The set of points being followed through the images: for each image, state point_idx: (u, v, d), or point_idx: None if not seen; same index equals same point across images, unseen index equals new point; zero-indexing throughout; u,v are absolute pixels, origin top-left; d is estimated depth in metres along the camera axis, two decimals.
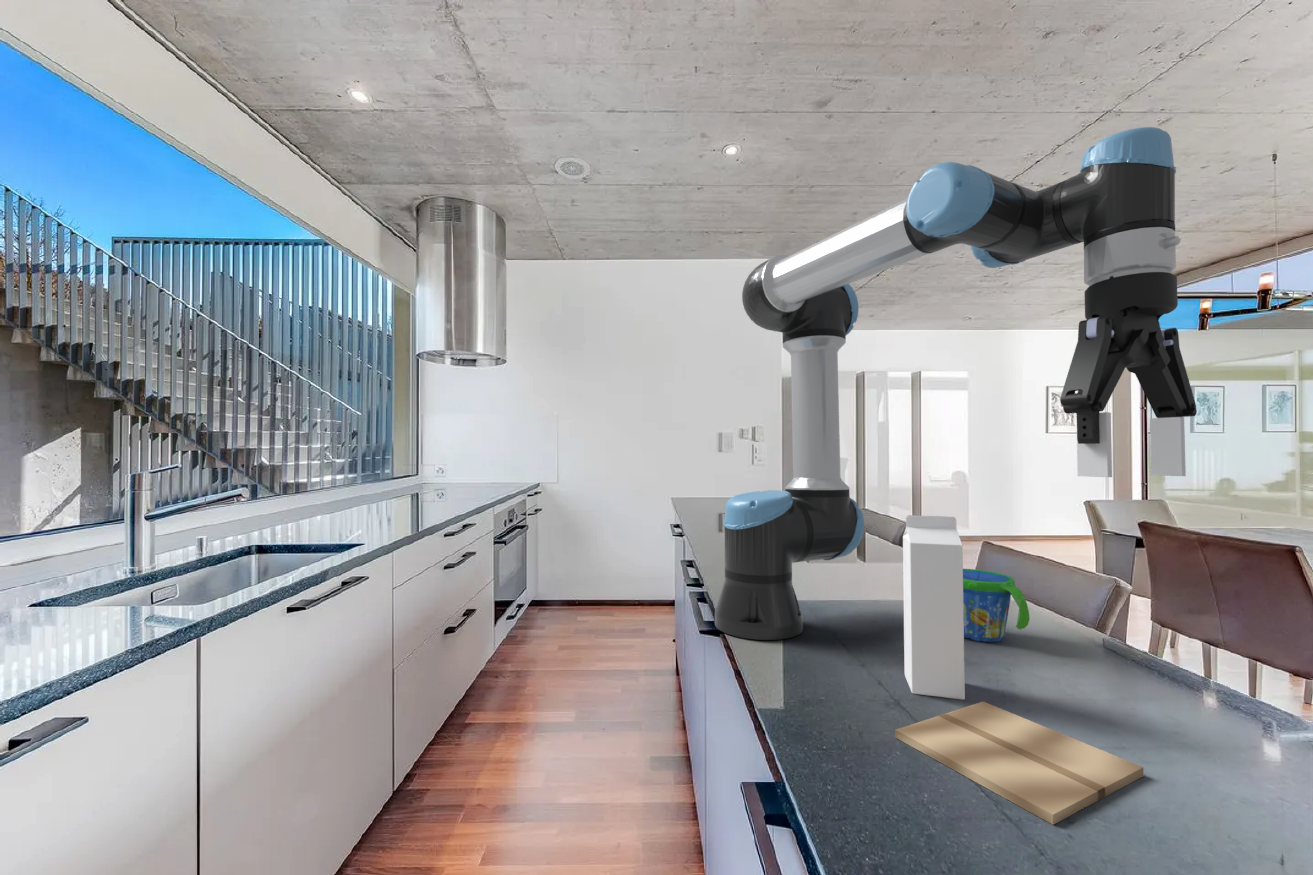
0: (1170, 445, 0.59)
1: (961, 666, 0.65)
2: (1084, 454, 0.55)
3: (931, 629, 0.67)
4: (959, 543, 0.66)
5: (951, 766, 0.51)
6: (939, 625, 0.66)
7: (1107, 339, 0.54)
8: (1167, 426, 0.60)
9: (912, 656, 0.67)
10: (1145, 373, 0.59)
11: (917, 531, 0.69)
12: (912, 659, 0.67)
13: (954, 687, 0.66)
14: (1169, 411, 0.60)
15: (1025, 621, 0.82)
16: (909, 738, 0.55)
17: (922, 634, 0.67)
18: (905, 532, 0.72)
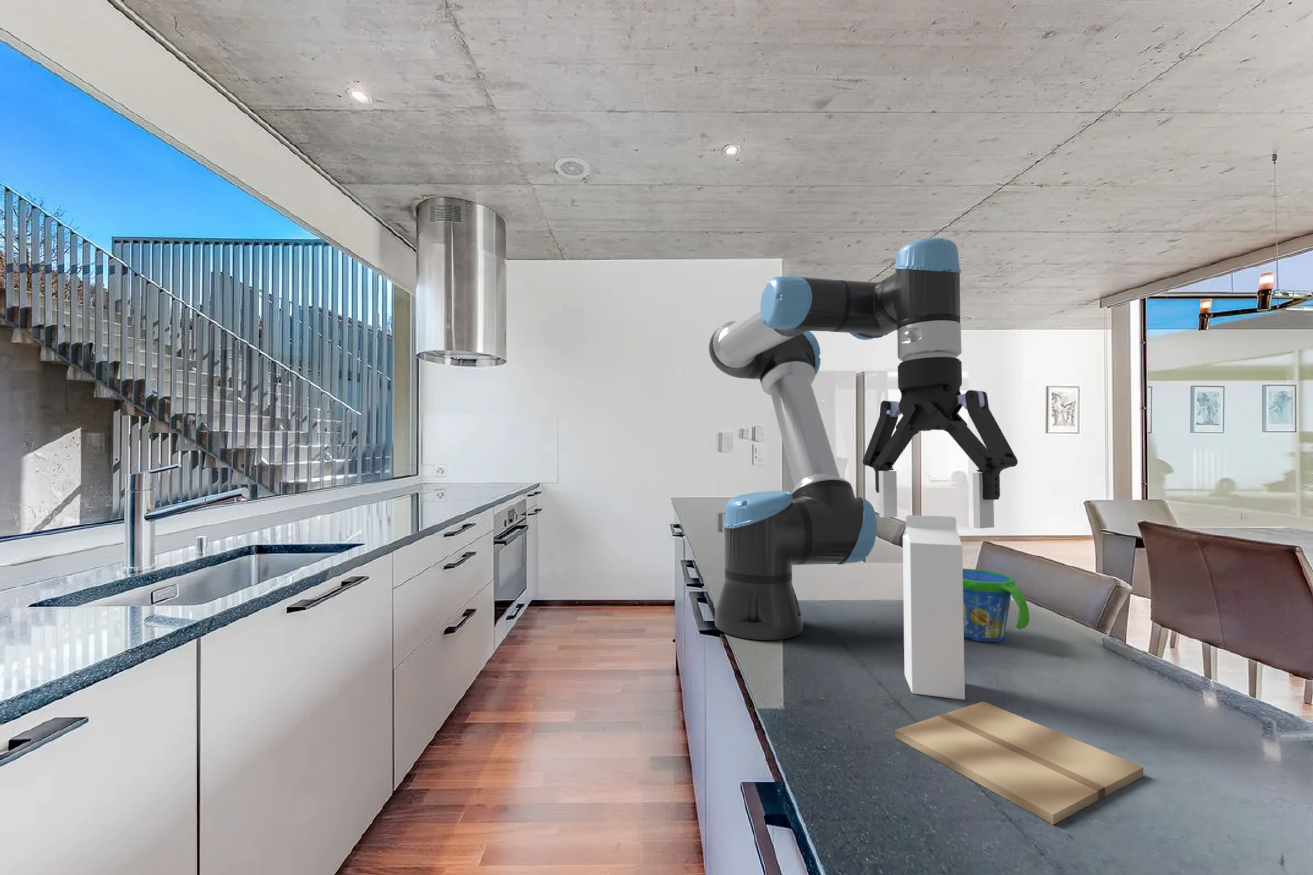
0: None
1: (961, 666, 0.65)
2: None
3: (931, 629, 0.67)
4: (959, 543, 0.66)
5: (951, 766, 0.51)
6: (939, 625, 0.66)
7: (882, 418, 0.75)
8: None
9: (912, 656, 0.67)
10: None
11: (917, 531, 0.69)
12: (912, 659, 0.67)
13: (954, 687, 0.66)
14: None
15: (1025, 621, 0.82)
16: (909, 738, 0.55)
17: (922, 634, 0.67)
18: (905, 532, 0.72)
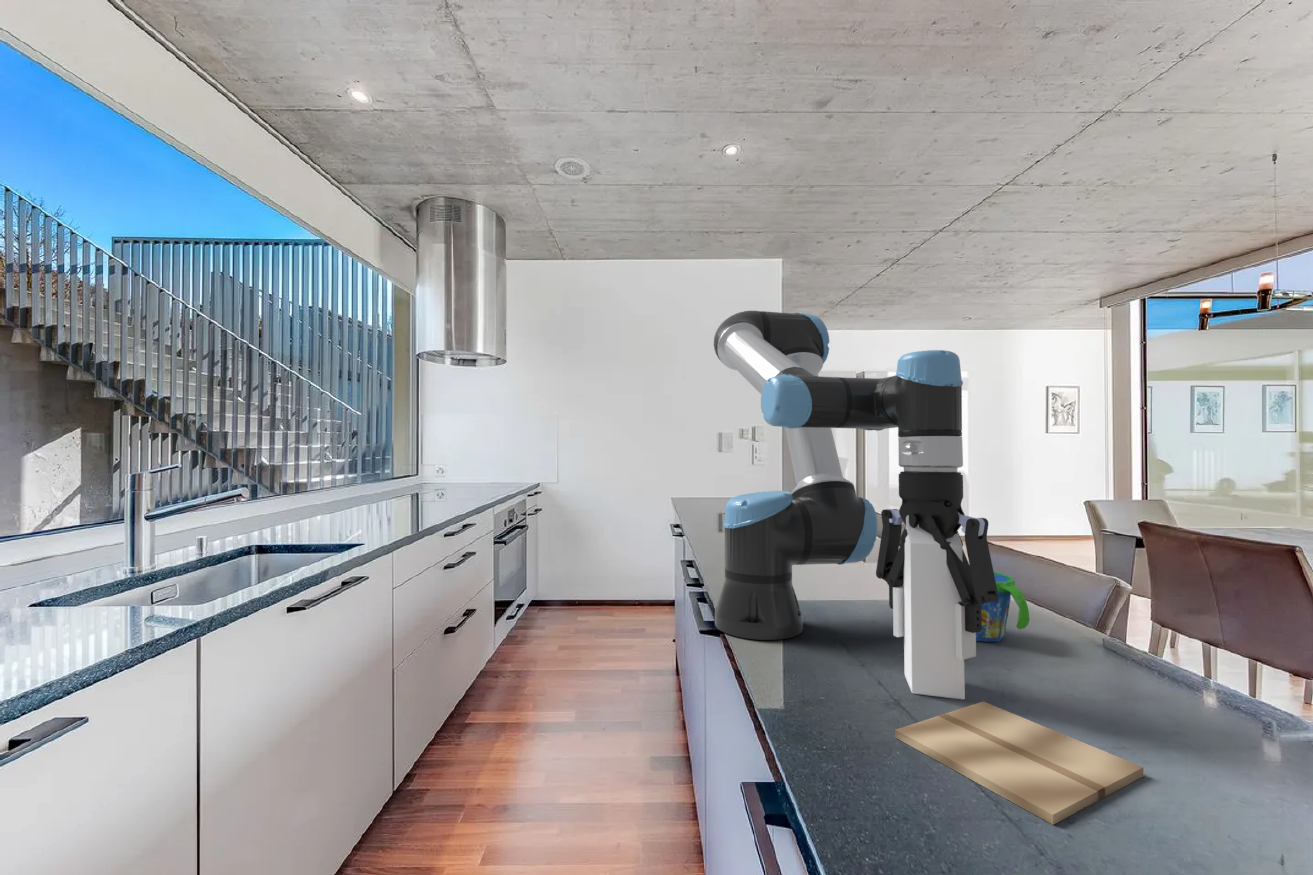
0: None
1: (961, 666, 0.65)
2: None
3: (931, 629, 0.67)
4: (959, 543, 0.66)
5: (951, 766, 0.51)
6: (939, 625, 0.66)
7: (886, 527, 0.74)
8: None
9: (912, 656, 0.67)
10: None
11: (917, 531, 0.69)
12: (912, 659, 0.67)
13: (954, 687, 0.66)
14: None
15: (1025, 621, 0.82)
16: (909, 738, 0.55)
17: (922, 634, 0.67)
18: None
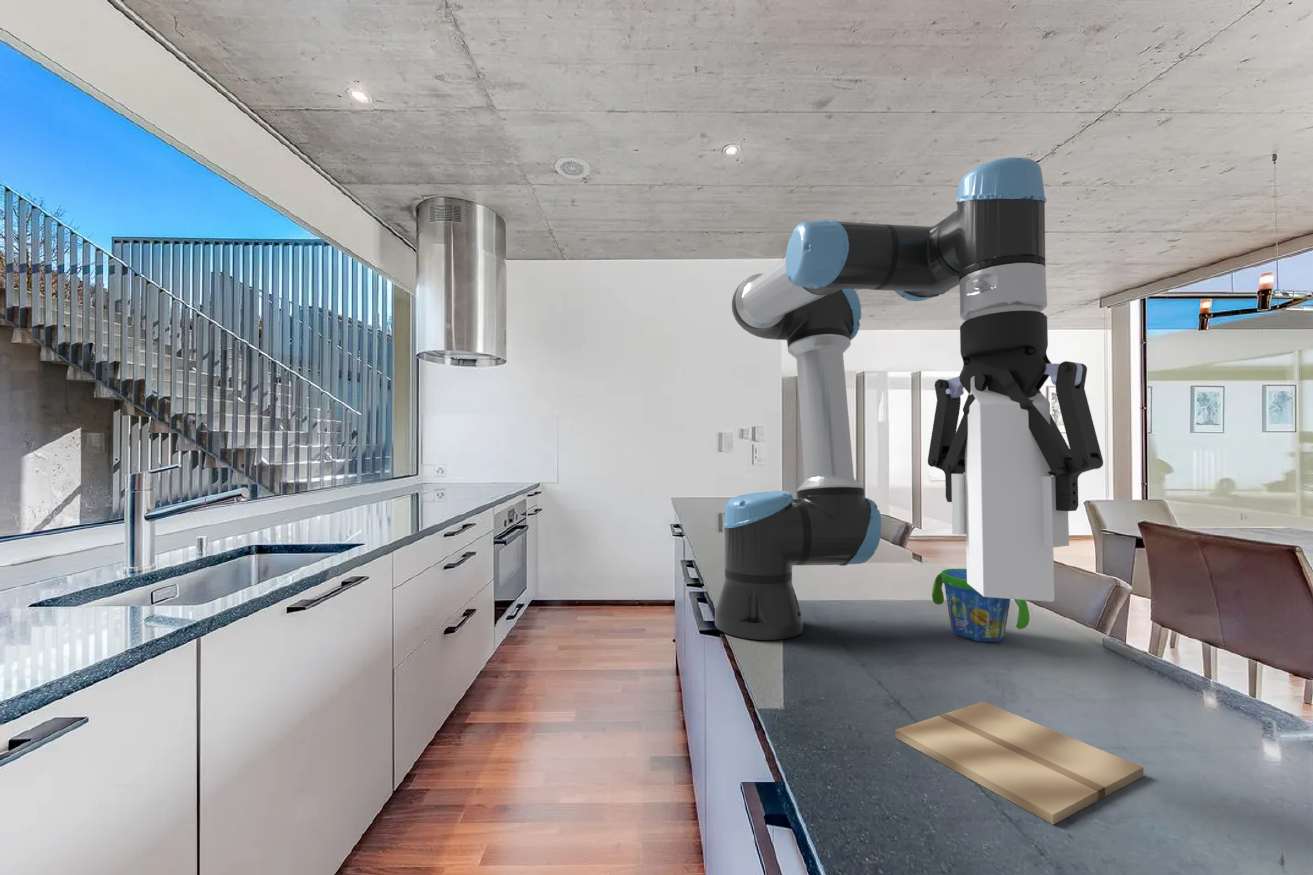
0: None
1: (1049, 558, 0.50)
2: None
3: (1009, 512, 0.51)
4: (1045, 401, 0.51)
5: (951, 766, 0.51)
6: (1019, 507, 0.51)
7: (941, 401, 0.59)
8: None
9: (983, 549, 0.52)
10: None
11: (986, 393, 0.54)
12: (983, 553, 0.52)
13: (1039, 586, 0.50)
14: None
15: (1025, 620, 0.82)
16: (909, 738, 0.55)
17: (997, 520, 0.52)
18: None
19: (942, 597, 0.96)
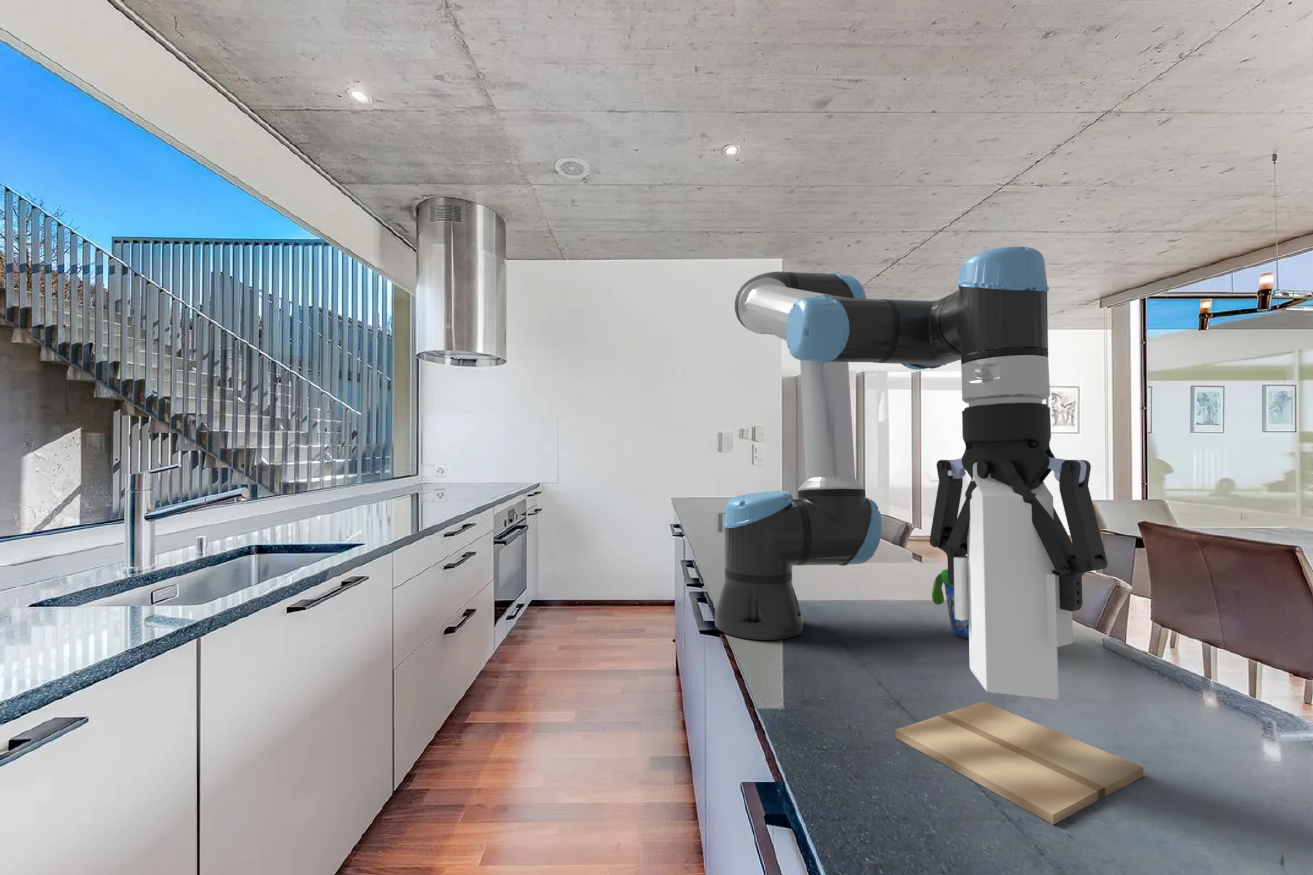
0: None
1: (1053, 656, 0.50)
2: None
3: (1012, 607, 0.51)
4: (1048, 494, 0.51)
5: (951, 766, 0.51)
6: (1022, 602, 0.51)
7: (943, 482, 0.59)
8: None
9: (986, 643, 0.51)
10: None
11: (989, 482, 0.54)
12: (986, 647, 0.51)
13: (1043, 684, 0.50)
14: None
15: None
16: (909, 738, 0.55)
17: (1000, 614, 0.51)
18: None
19: (942, 597, 0.96)
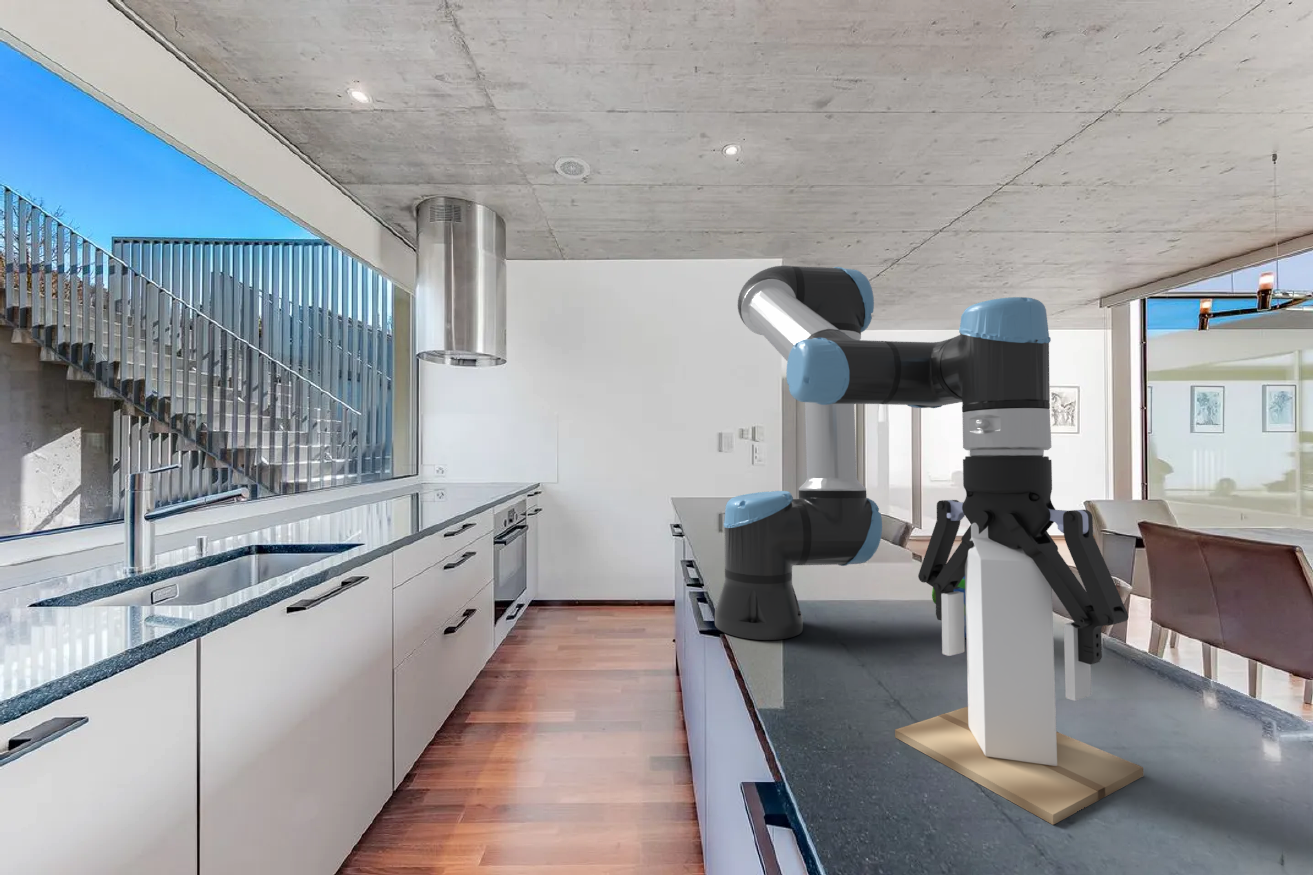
0: None
1: (1052, 722, 0.50)
2: None
3: (1011, 672, 0.51)
4: None
5: (951, 766, 0.51)
6: (1021, 667, 0.51)
7: (941, 523, 0.59)
8: None
9: (985, 707, 0.51)
10: None
11: (987, 543, 0.54)
12: (985, 711, 0.51)
13: (1042, 750, 0.50)
14: None
15: None
16: (909, 738, 0.55)
17: (999, 679, 0.51)
18: None
19: None
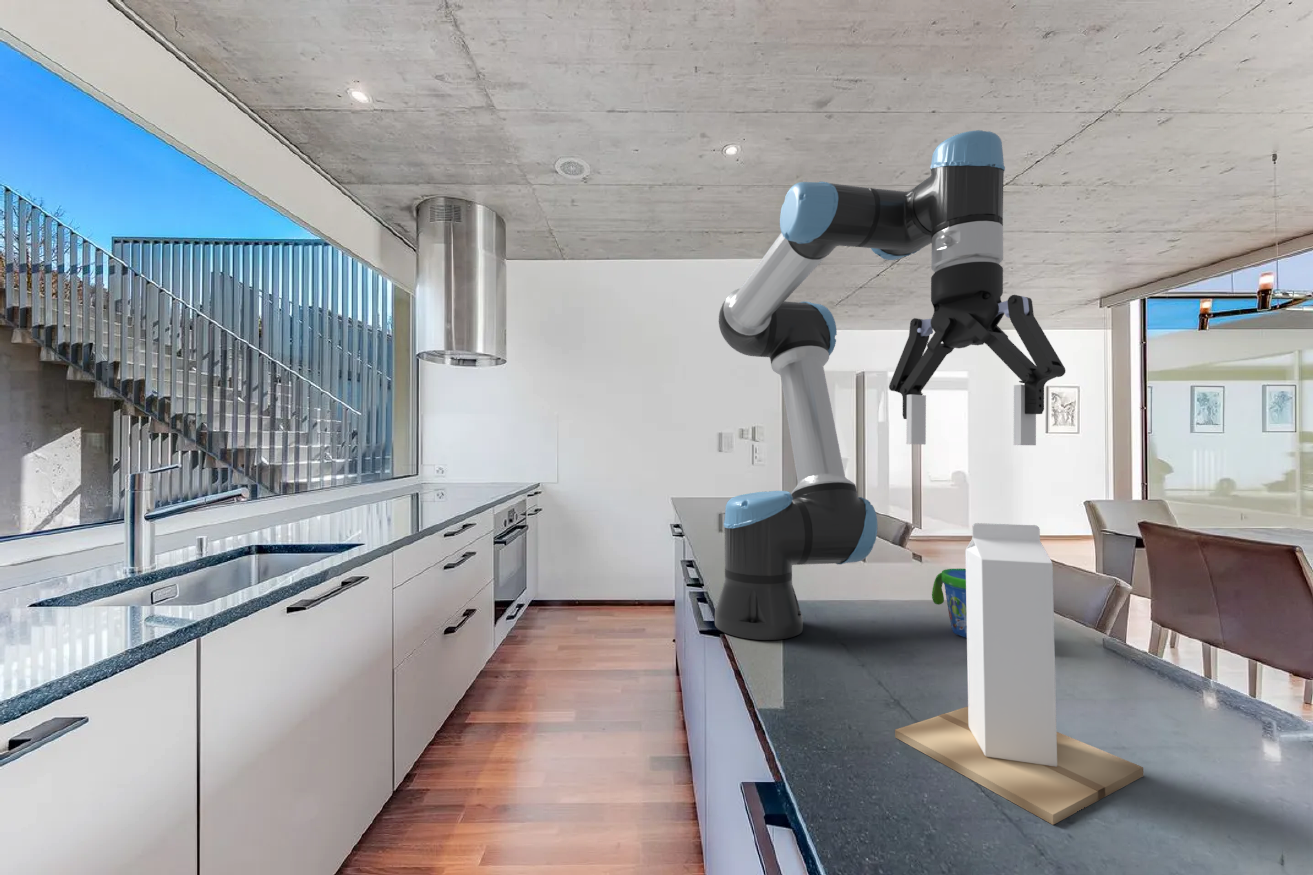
0: None
1: (1052, 722, 0.50)
2: None
3: (1011, 672, 0.51)
4: (1048, 560, 0.51)
5: (951, 766, 0.51)
6: (1021, 667, 0.51)
7: (912, 337, 0.70)
8: None
9: (985, 708, 0.51)
10: None
11: (988, 544, 0.54)
12: (985, 711, 0.51)
13: (1042, 750, 0.50)
14: None
15: None
16: (909, 738, 0.55)
17: (999, 680, 0.51)
18: (970, 545, 0.56)
19: (942, 597, 0.96)
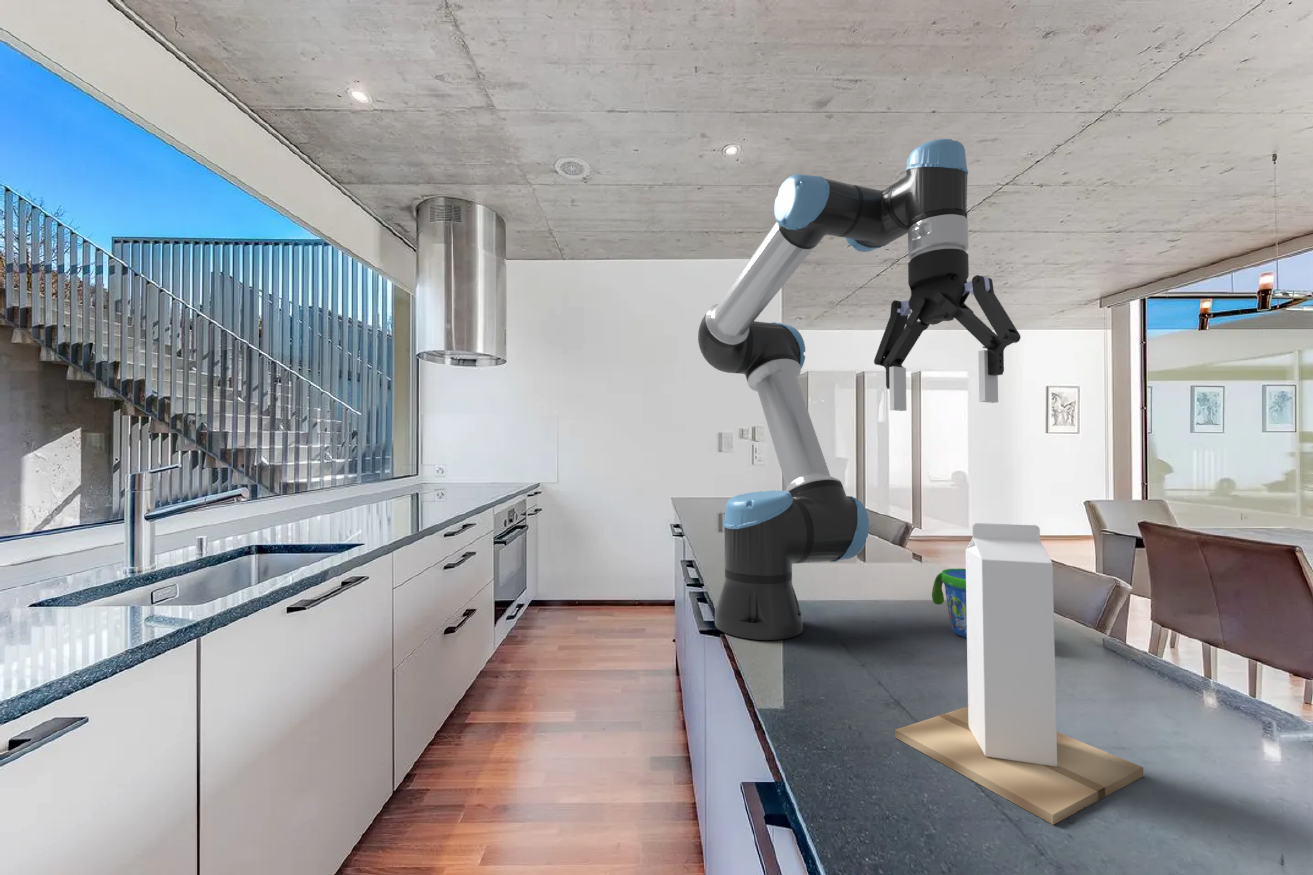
0: None
1: (1052, 722, 0.50)
2: None
3: (1011, 672, 0.51)
4: (1048, 560, 0.51)
5: (951, 766, 0.51)
6: (1021, 667, 0.51)
7: (893, 317, 0.80)
8: None
9: (985, 708, 0.51)
10: None
11: (988, 544, 0.54)
12: (985, 711, 0.51)
13: (1042, 750, 0.50)
14: None
15: None
16: (909, 738, 0.55)
17: (999, 680, 0.51)
18: (970, 545, 0.56)
19: (942, 597, 0.96)
